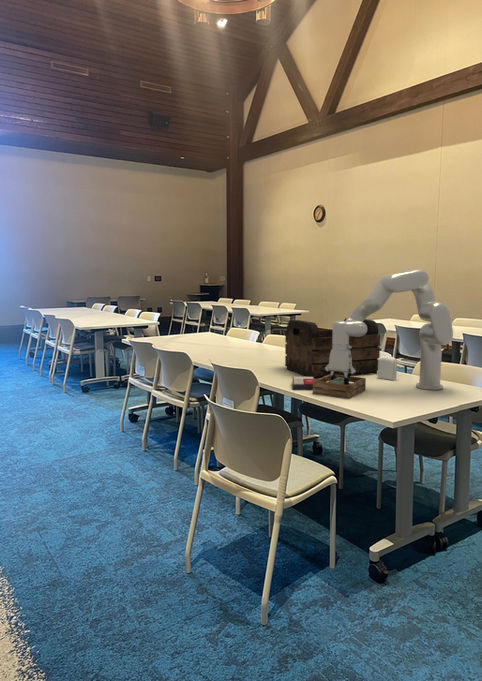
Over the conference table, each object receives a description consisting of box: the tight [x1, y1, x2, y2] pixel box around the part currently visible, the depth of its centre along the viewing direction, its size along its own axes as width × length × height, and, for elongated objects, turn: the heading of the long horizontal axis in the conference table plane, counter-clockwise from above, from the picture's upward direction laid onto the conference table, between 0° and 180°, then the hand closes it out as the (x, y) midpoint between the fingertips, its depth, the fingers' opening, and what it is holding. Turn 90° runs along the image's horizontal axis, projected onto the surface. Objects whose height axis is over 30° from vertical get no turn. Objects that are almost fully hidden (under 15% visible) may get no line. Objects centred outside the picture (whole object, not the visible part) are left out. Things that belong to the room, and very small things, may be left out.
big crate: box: [312, 375, 367, 400], centre depth 226 cm, size 20×18×6 cm
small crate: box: [330, 377, 349, 385], centre depth 226 cm, size 10×5×3 cm, turn 145°
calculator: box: [292, 376, 316, 391], centre depth 238 cm, size 11×4×15 cm
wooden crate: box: [284, 317, 381, 380], centre depth 276 cm, size 42×34×30 cm
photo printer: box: [377, 355, 398, 381], centre depth 255 cm, size 10×4×12 cm, turn 39°
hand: (339, 384), depth 226 cm, fingers open, 5 cm apart
